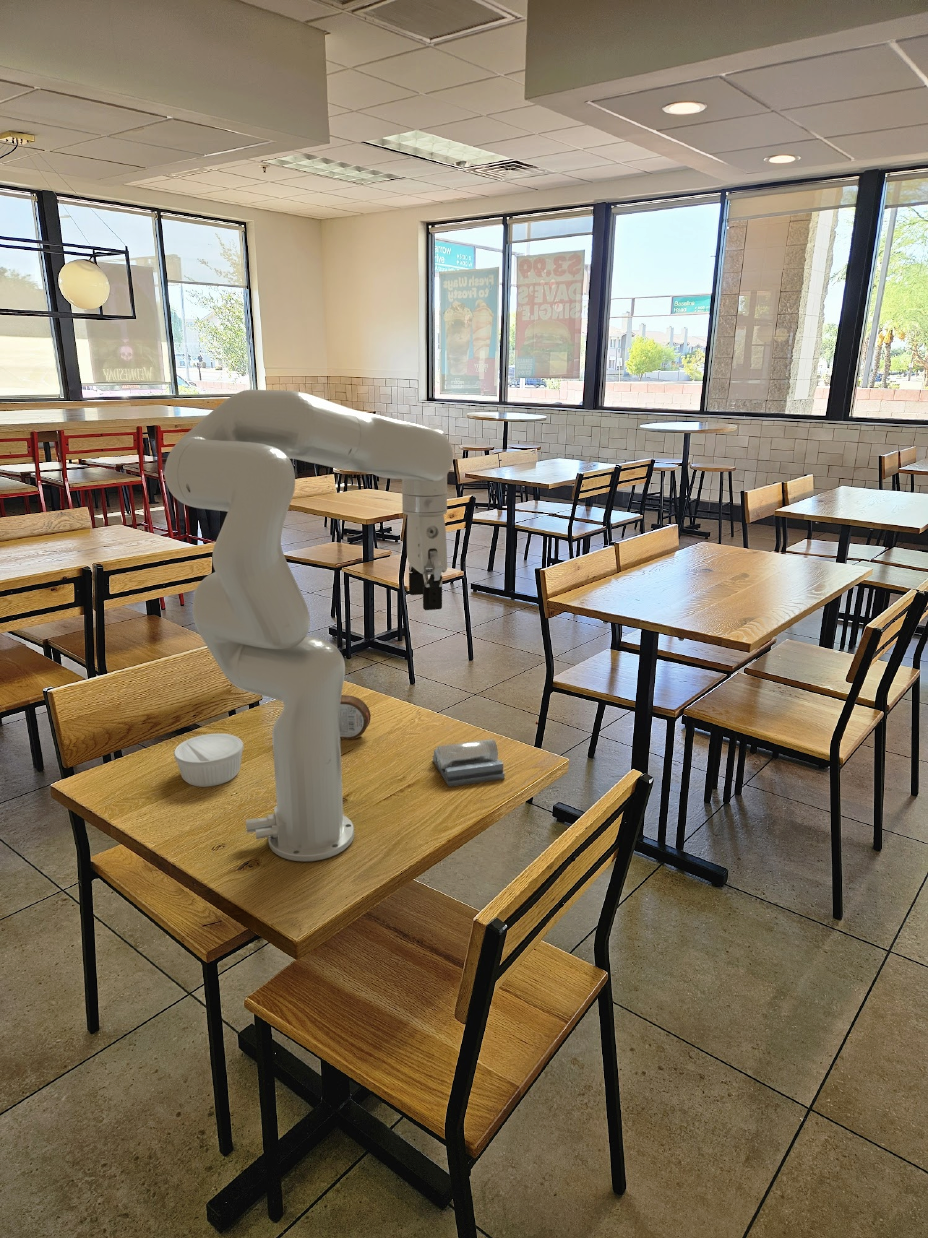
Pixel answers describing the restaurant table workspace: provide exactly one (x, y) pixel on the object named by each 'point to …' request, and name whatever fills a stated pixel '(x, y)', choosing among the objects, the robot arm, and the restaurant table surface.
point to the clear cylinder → (466, 753)
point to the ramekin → (209, 759)
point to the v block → (471, 772)
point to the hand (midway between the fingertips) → (425, 601)
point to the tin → (353, 717)
